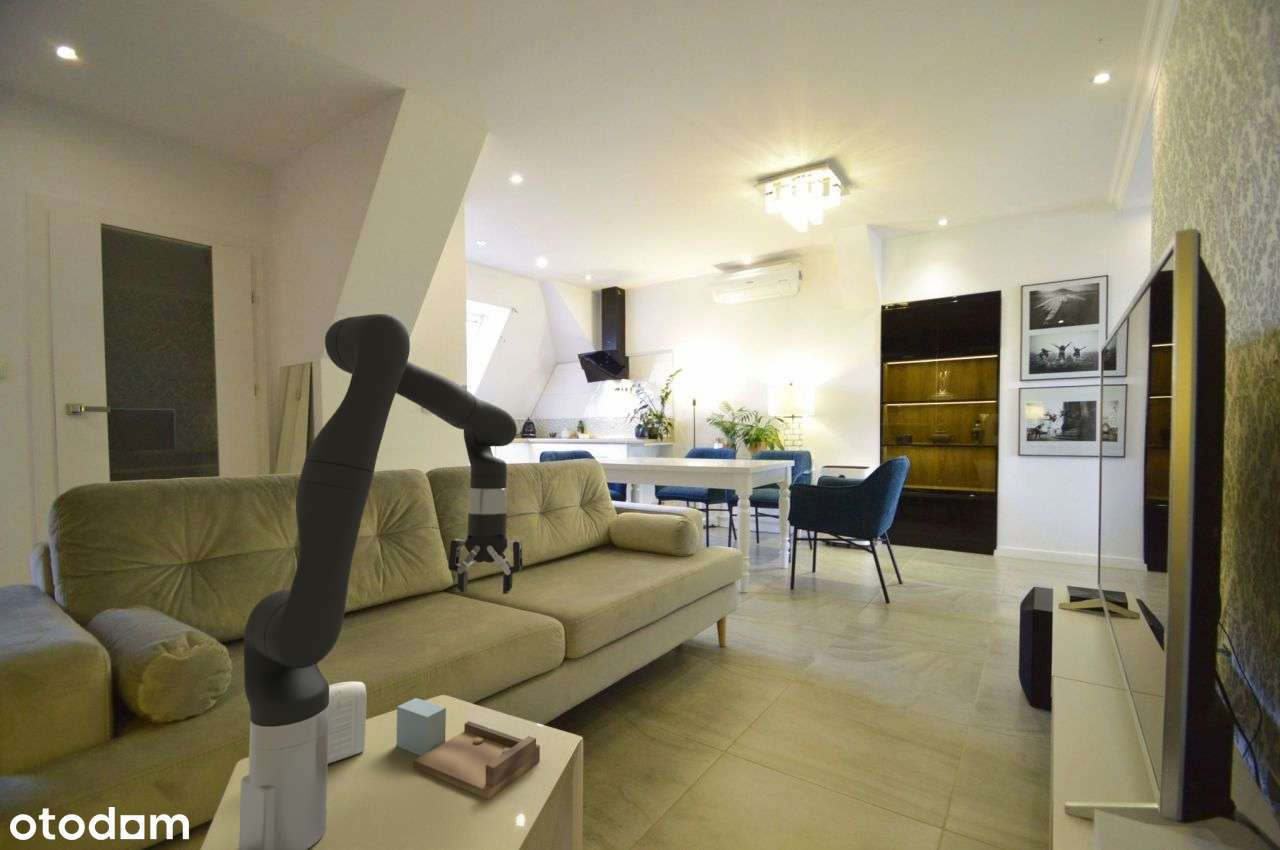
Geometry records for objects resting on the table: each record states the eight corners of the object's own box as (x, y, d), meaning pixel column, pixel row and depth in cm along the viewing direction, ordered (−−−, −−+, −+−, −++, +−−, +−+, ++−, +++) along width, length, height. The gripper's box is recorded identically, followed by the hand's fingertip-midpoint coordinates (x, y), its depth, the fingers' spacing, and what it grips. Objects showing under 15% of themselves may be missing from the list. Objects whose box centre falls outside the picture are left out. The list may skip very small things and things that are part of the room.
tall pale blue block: (426, 758, 96) (427, 717, 96) (396, 746, 100) (397, 706, 100) (445, 747, 100) (445, 707, 100) (415, 736, 104) (415, 697, 104)
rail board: (488, 799, 85) (488, 771, 85) (413, 767, 93) (414, 741, 93) (539, 761, 95) (539, 735, 95) (468, 735, 104) (468, 712, 104)
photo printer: (360, 742, 101) (362, 673, 102) (368, 751, 98) (370, 680, 99) (295, 764, 94) (297, 690, 95) (302, 775, 91) (304, 698, 92)
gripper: (445, 511, 109) (442, 596, 108) (518, 513, 108) (515, 598, 107) (459, 508, 116) (456, 587, 115) (527, 509, 116) (524, 589, 115)
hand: (484, 592), depth 111 cm, fingers open, 8 cm apart
